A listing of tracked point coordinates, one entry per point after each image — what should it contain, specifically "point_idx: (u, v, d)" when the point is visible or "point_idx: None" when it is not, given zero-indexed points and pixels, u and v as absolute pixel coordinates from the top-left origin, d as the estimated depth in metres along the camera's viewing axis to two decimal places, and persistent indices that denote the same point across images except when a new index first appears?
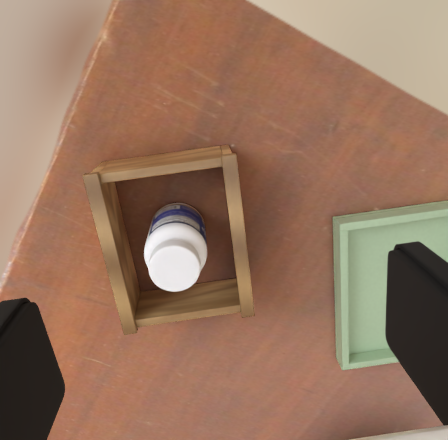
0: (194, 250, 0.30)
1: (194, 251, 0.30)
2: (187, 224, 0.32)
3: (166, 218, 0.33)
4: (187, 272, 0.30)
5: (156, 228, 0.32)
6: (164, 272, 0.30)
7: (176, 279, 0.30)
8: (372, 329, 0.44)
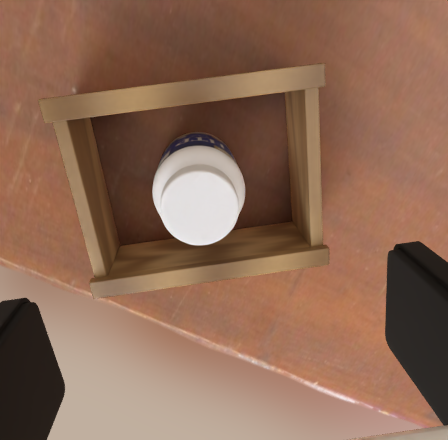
0: (174, 175, 0.19)
1: (174, 176, 0.19)
2: (155, 175, 0.22)
3: None
4: (205, 190, 0.19)
5: None
6: (203, 223, 0.20)
7: (217, 206, 0.19)
8: None
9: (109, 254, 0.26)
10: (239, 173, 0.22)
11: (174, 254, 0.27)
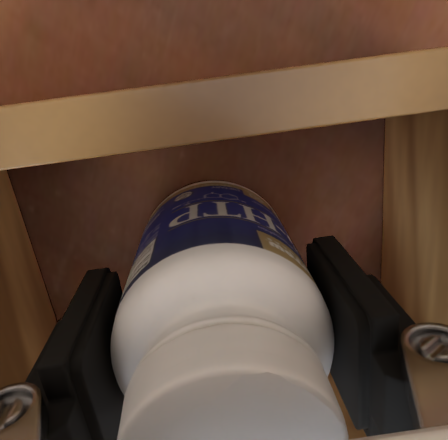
0: (158, 362, 0.07)
1: (157, 369, 0.06)
2: (117, 310, 0.09)
3: None
4: (252, 418, 0.06)
5: None
6: None
7: None
8: None
9: None
10: (325, 311, 0.09)
11: None
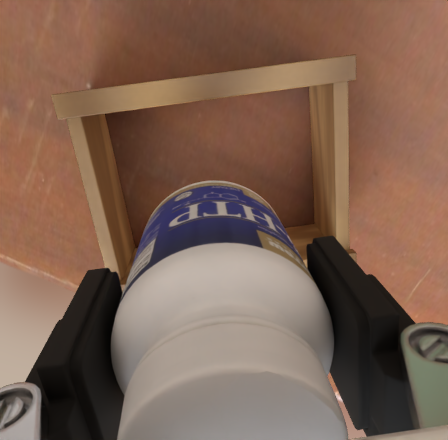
0: (158, 362, 0.07)
1: (158, 368, 0.06)
2: (117, 310, 0.09)
3: None
4: (252, 417, 0.06)
5: None
6: None
7: None
8: None
9: (124, 257, 0.25)
10: (324, 310, 0.09)
11: None
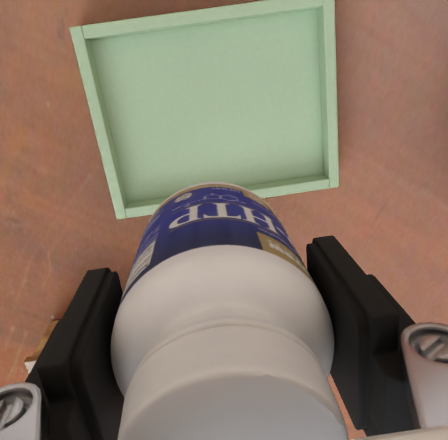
0: (158, 364, 0.07)
1: (157, 371, 0.06)
2: (117, 312, 0.09)
3: None
4: (252, 420, 0.06)
5: None
6: None
7: None
8: (285, 139, 0.31)
9: None
10: (325, 312, 0.09)
11: None
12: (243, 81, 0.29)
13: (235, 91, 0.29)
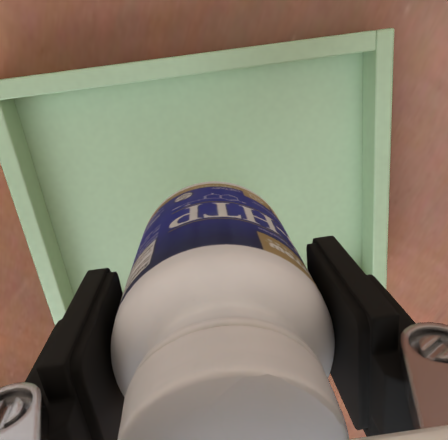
0: (158, 364, 0.07)
1: (158, 371, 0.06)
2: (117, 311, 0.09)
3: None
4: (252, 420, 0.06)
5: None
6: None
7: None
8: (308, 234, 0.21)
9: None
10: (325, 312, 0.09)
11: None
12: (249, 156, 0.19)
13: (237, 170, 0.20)
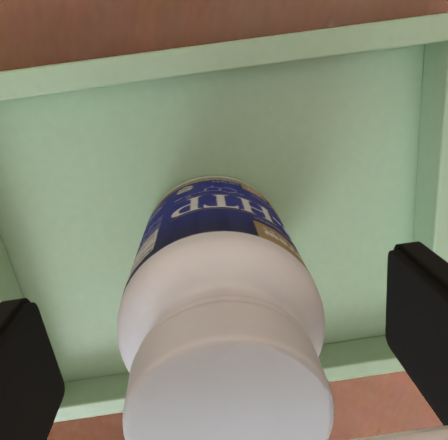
0: (161, 336, 0.07)
1: (161, 341, 0.07)
2: (123, 293, 0.10)
3: None
4: (246, 384, 0.07)
5: None
6: None
7: (276, 419, 0.07)
8: (343, 278, 0.17)
9: None
10: (316, 294, 0.09)
11: None
12: (269, 181, 0.15)
13: None
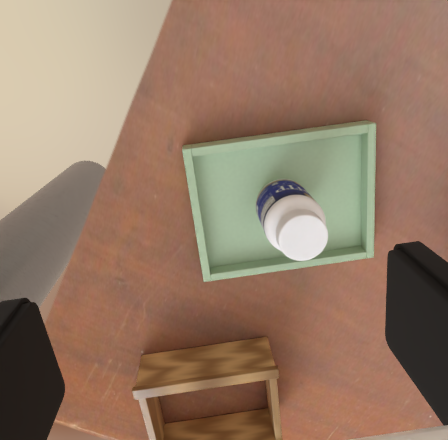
0: (287, 217, 0.31)
1: (287, 217, 0.31)
2: (266, 213, 0.33)
3: (262, 226, 0.35)
4: (308, 226, 0.30)
5: None
6: (305, 247, 0.31)
7: (314, 236, 0.31)
8: (333, 221, 0.40)
9: None
10: (323, 212, 0.33)
11: (198, 438, 0.46)
12: (303, 180, 0.38)
13: None
